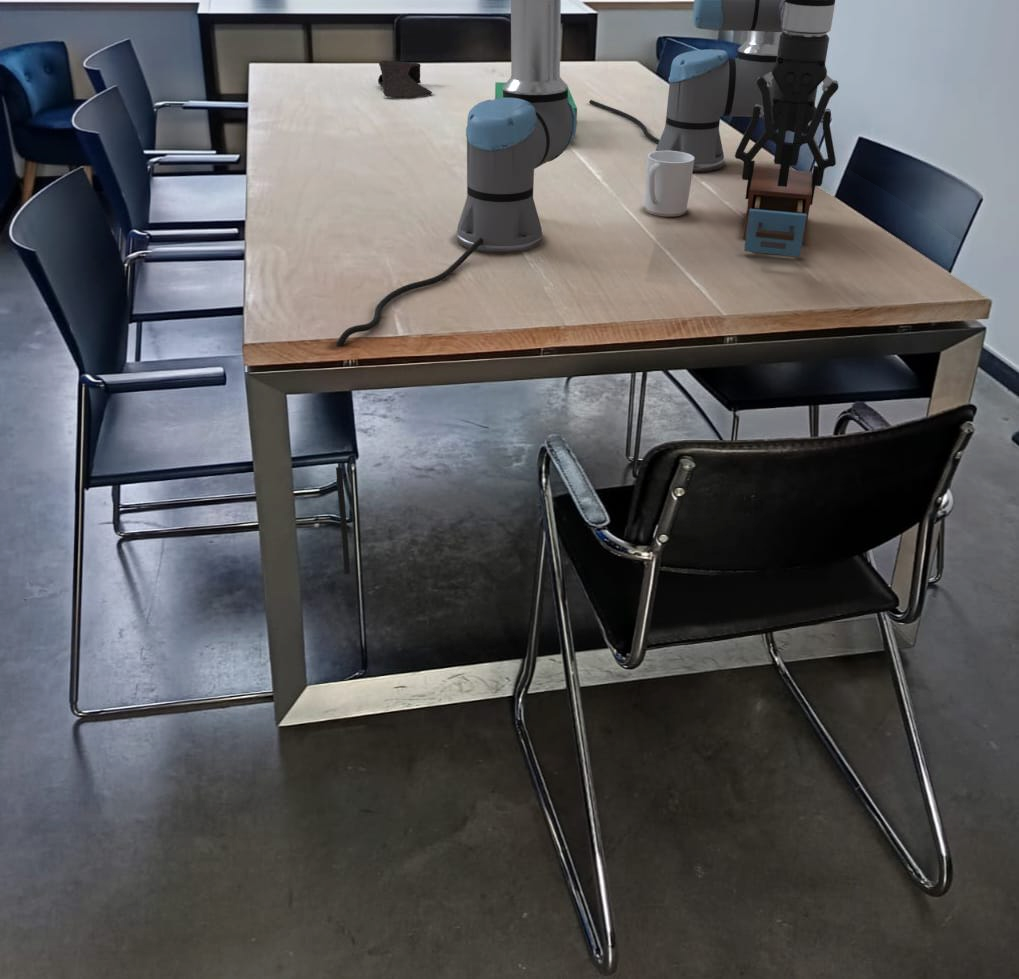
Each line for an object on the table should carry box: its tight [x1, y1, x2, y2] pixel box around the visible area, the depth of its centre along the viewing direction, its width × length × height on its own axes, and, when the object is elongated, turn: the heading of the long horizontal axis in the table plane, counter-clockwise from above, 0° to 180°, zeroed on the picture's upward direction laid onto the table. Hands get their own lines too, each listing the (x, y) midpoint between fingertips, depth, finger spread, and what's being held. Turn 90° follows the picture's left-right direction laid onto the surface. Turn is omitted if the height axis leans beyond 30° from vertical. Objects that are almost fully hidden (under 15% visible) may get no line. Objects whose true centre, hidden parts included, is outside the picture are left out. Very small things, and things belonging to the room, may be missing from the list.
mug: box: [644, 150, 694, 218], centre depth 209 cm, size 11×9×10 cm
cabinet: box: [742, 166, 813, 246], centre depth 202 cm, size 15×11×9 cm
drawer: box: [743, 195, 807, 257], centre depth 192 cm, size 19×10×7 cm, turn 166°
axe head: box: [377, 59, 433, 99], centre depth 299 cm, size 18×8×15 cm
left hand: (782, 184), depth 182 cm, fingers closed
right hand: (778, 200), depth 206 cm, fingers closed on cabinet, 11 cm apart
